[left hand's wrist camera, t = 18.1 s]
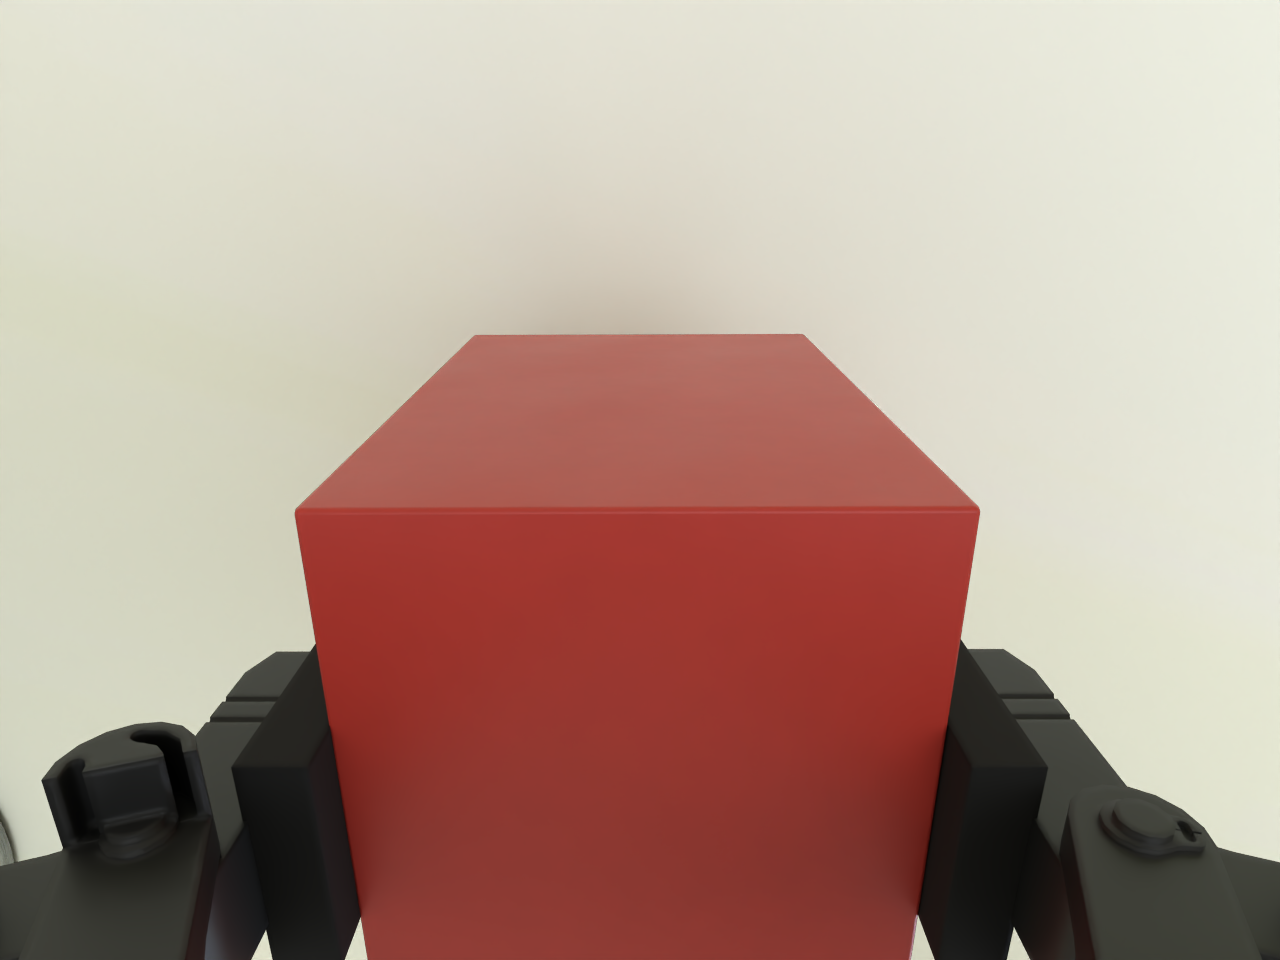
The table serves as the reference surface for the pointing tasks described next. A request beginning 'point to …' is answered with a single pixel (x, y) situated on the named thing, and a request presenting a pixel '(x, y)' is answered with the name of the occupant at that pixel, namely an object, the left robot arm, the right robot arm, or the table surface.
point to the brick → (638, 654)
